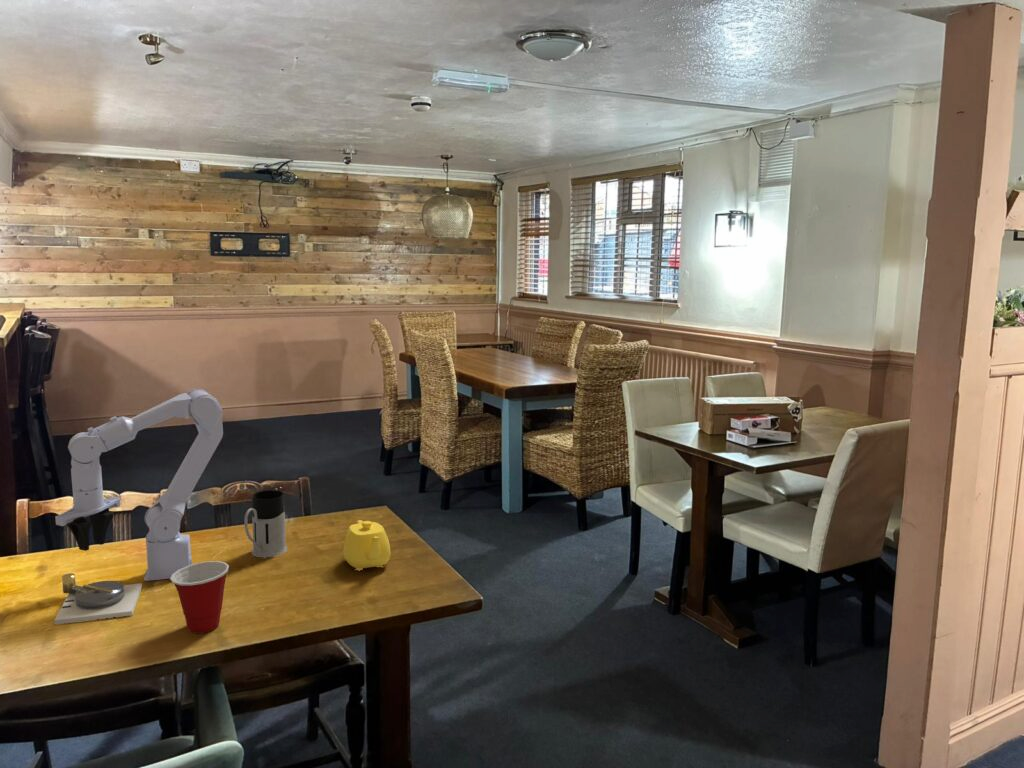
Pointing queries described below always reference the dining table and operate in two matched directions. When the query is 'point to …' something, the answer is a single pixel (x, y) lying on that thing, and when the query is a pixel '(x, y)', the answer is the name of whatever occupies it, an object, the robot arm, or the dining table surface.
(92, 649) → the dining table surface
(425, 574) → the dining table surface
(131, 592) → the white square board
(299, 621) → the dining table surface
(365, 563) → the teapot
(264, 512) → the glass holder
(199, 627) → the plastic cup
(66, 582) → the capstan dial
